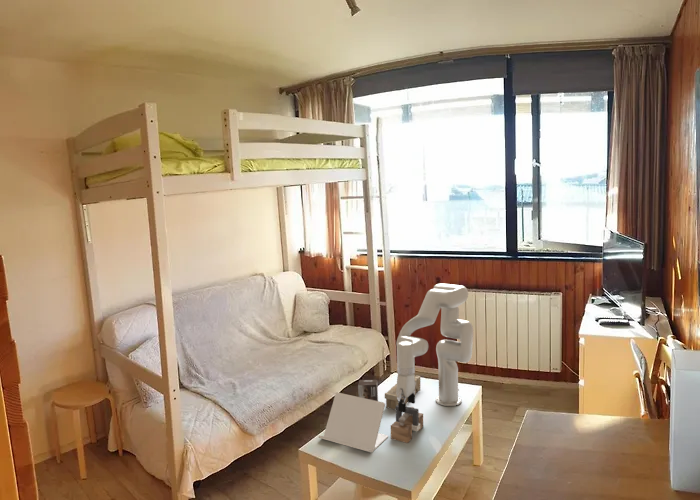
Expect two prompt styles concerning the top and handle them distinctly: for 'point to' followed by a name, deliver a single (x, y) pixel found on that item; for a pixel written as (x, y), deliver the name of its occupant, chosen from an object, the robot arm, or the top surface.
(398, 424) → the wooden handle frame
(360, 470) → the top surface
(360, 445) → the tablet stand
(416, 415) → the grey c-shaped block
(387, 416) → the top surface
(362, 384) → the coffee box
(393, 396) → the block tower
